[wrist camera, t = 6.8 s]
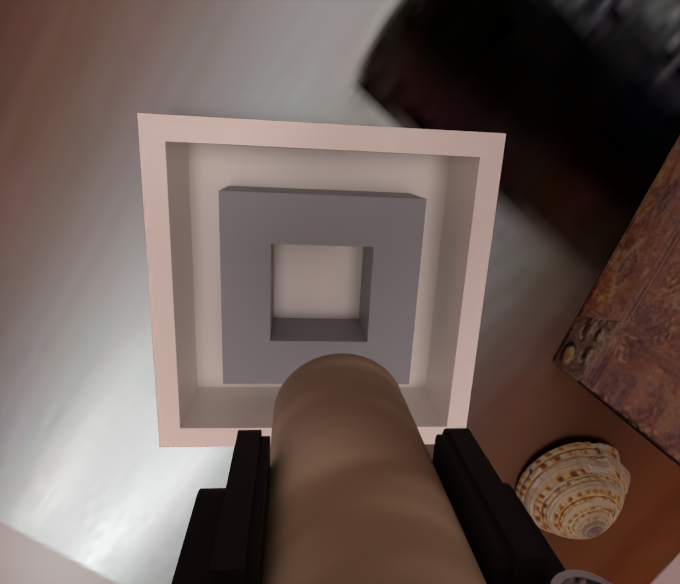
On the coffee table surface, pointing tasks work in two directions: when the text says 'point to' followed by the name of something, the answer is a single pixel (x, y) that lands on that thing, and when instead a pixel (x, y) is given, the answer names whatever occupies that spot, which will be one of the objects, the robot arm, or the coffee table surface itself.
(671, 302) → the book
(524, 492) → the seashell
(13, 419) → the coffee table surface
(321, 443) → the peg
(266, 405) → the open box
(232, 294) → the plate
